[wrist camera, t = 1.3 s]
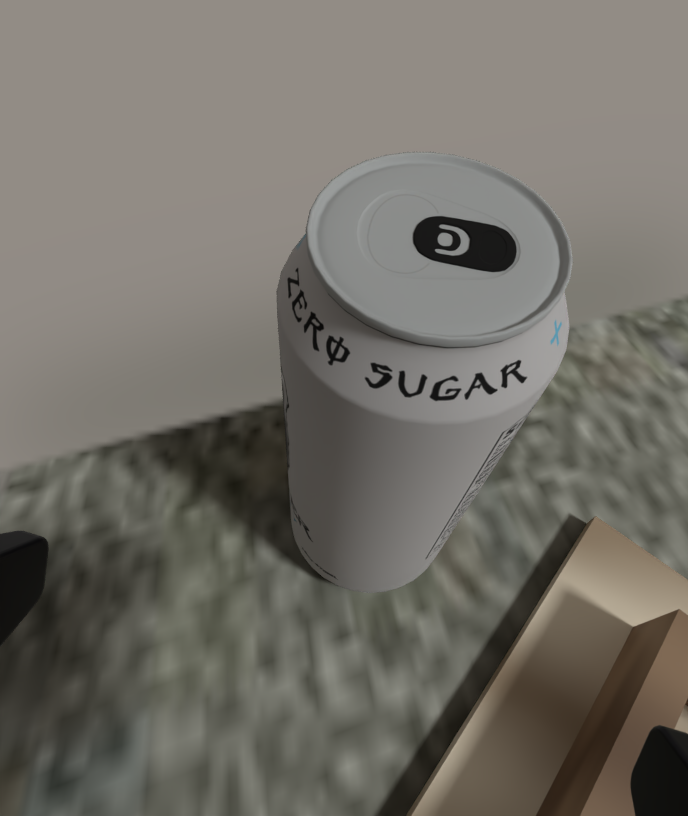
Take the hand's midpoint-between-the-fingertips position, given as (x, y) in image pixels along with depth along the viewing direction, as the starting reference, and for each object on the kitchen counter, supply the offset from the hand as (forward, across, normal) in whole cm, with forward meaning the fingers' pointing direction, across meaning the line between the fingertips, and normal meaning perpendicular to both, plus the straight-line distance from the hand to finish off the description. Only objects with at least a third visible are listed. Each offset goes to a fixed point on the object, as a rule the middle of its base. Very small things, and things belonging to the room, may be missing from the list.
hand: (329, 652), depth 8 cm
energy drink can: (+14, 0, +5) cm, 15 cm away
